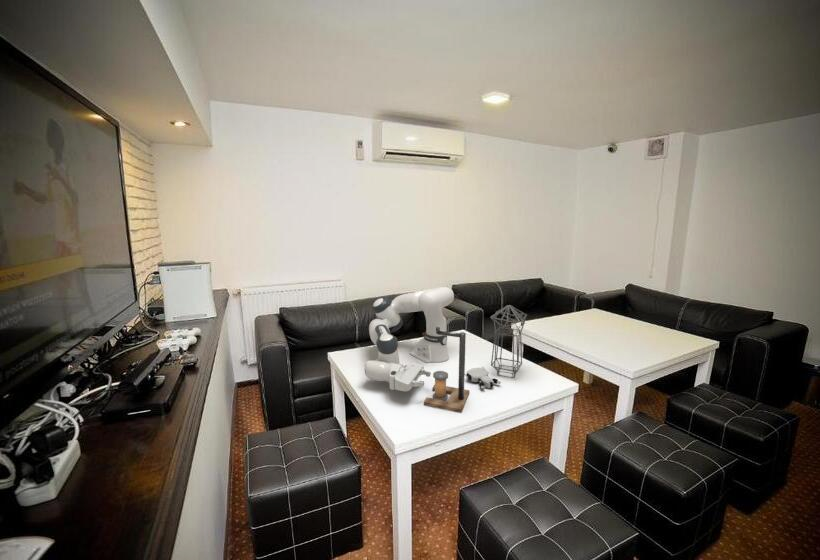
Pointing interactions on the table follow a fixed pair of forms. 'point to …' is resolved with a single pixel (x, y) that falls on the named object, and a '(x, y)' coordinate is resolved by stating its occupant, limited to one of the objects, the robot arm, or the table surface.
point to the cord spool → (440, 385)
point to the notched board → (452, 402)
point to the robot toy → (481, 377)
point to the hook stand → (461, 358)
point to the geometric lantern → (508, 335)
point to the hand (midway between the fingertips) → (427, 379)
